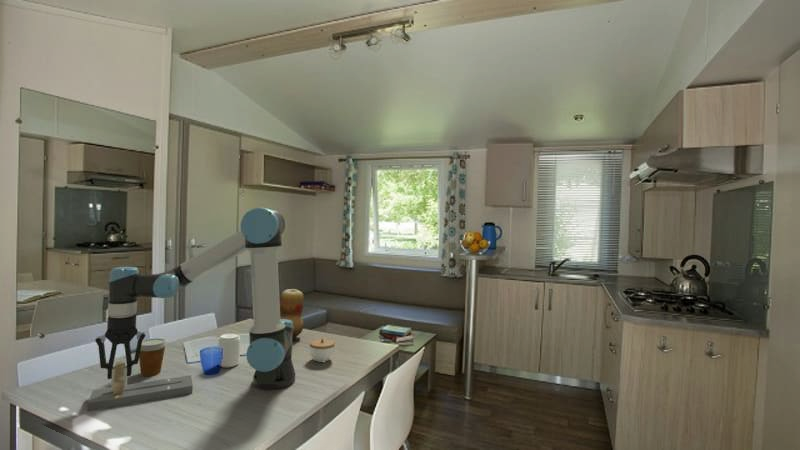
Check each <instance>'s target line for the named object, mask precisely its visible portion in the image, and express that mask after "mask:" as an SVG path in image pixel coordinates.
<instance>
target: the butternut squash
mask: <svg viewBox="0 0 800 450" xmlns="http://www.w3.org/2000/svg"><path fill="white" fill-rule="evenodd" d="M304 299H305V298H304V294H303V292H302V291H300V290H298V289H295V288H291V289H289V288H288V289H285V290H283V291H282V293H281V294H280V297H279V300H280V319H287V320H291V321H292V322H293V337H292V340H293V339H295V338H296V337H298V336H299V335H300V334H302V332H303V330H304V320H303V316H302V314H303V309H304V302H305V301H304Z"/></svg>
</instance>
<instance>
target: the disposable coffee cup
mask: <svg viewBox="0 0 800 450" xmlns="http://www.w3.org/2000/svg"><path fill="white" fill-rule="evenodd" d="M167 345H168V344H167V342H166V339H165V338H159V337H158V338H149V339H143V341H142V345H141V350H140V355H139V361H138V362H139V368H140V369H139V370H140V375H141V376H142V377H152V376H153V377H154V376H157V375H159V374H160V373H161V371H162V366H163V360H164V354H165V350H166V347H167Z"/></svg>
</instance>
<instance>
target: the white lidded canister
mask: <svg viewBox="0 0 800 450" xmlns="http://www.w3.org/2000/svg"><path fill="white" fill-rule="evenodd" d="M219 347H221V348H223V361H222V367H221V368H232V367H235V366H237V365H239V364H240V356H241V354H240V353H241V337H240V334H239V333H235V332H232V333H224V334H222V335H220V337H219V339H218V348H219Z"/></svg>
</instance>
